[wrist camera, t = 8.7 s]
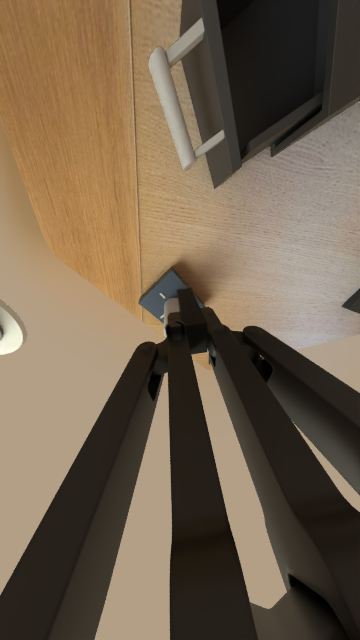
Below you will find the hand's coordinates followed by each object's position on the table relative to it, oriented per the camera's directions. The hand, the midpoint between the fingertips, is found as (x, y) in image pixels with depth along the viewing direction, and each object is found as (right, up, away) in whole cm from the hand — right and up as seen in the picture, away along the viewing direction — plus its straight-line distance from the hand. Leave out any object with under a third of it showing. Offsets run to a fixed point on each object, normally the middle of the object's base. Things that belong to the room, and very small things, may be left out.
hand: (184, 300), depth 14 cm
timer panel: (-2, +3, +18) cm, 18 cm away
